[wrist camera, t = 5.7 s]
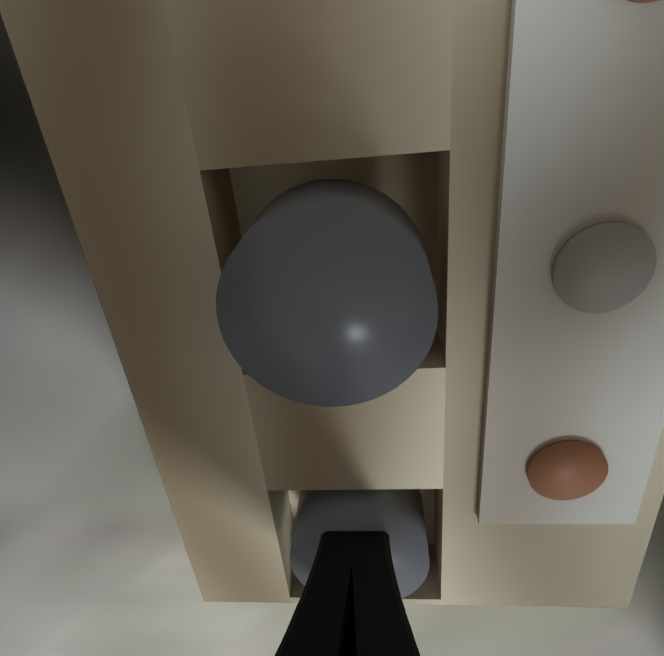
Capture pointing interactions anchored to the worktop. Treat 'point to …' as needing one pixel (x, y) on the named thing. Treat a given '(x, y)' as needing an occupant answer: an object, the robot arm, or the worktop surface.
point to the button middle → (329, 295)
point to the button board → (441, 249)
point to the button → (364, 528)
